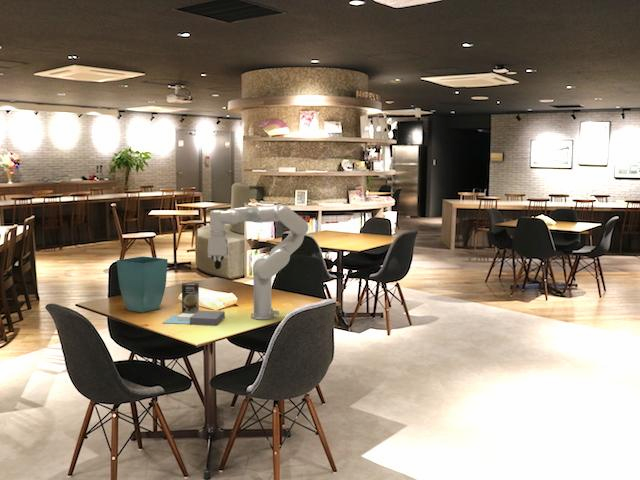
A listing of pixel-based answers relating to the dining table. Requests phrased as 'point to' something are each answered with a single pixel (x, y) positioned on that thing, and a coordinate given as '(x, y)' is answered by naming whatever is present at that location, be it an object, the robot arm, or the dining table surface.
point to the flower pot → (142, 282)
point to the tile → (184, 317)
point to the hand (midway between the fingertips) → (218, 268)
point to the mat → (175, 320)
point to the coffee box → (190, 298)
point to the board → (207, 317)
